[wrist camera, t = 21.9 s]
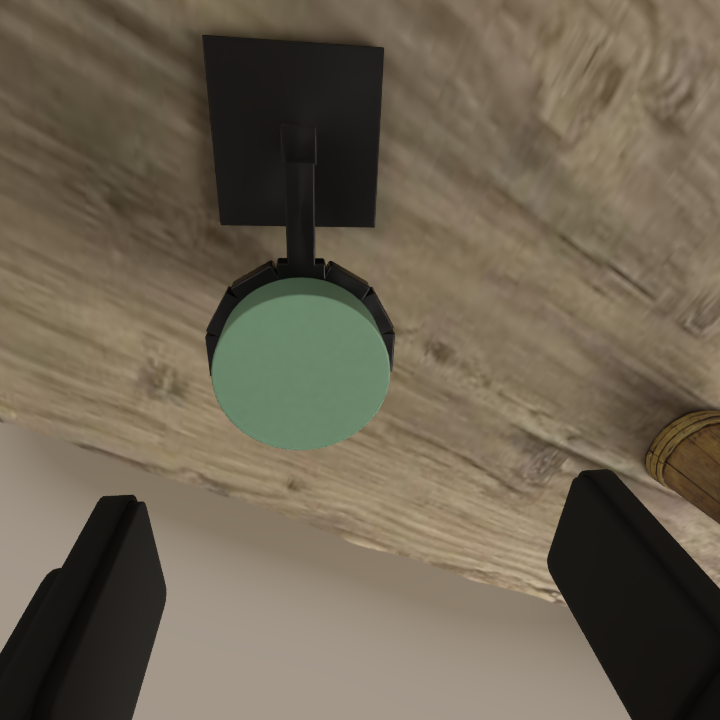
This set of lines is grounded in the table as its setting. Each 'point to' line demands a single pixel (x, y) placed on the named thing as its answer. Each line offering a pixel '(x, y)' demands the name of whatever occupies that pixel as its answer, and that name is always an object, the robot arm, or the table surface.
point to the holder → (295, 154)
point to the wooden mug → (690, 460)
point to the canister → (300, 365)
